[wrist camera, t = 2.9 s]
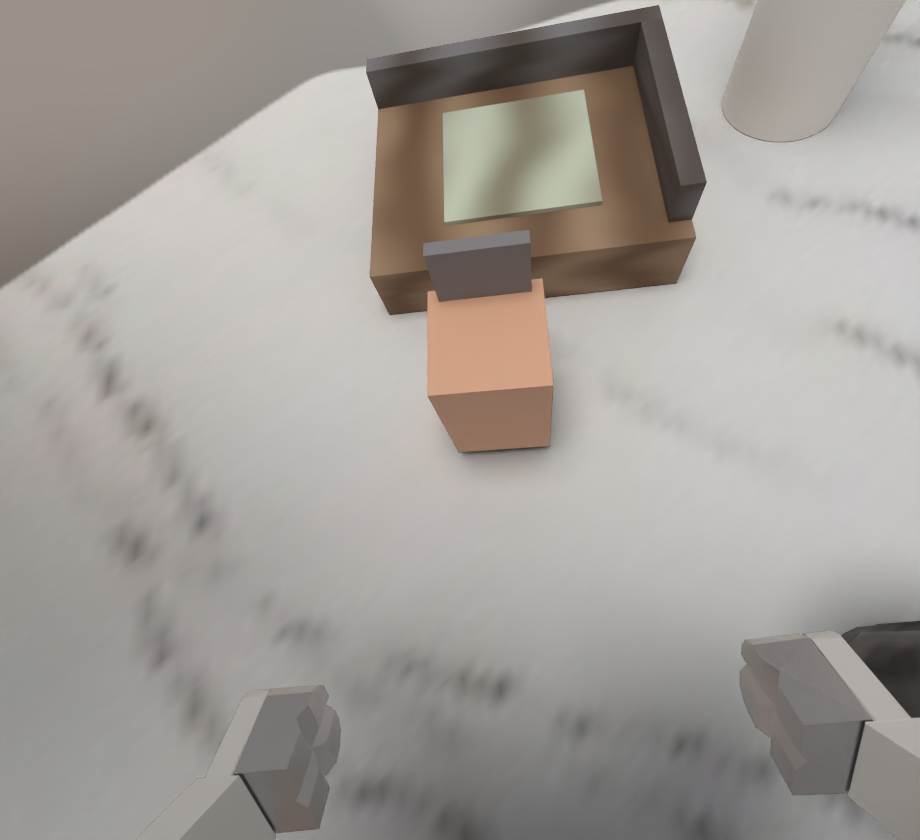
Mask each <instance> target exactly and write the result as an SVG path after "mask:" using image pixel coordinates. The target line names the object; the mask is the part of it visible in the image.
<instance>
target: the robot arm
mask: <svg viewBox="0 0 920 840" xmlns="http://www.w3.org/2000/svg"><path fill="white" fill-rule="evenodd" d="M741 655H742V657H743V658H744V660H745V662H746V665H745V666H744V667H743V668H742V669H741V670H740V688H741V692H742V696H743V700H744V703H745V705H746V708H747V710H748V713H749V715H750V717H751V719H752V720H753V722H754V724H755V726H756V728H758V729H759V730H760V731H762V732H763V733H764V734H766V735H767V736H768V737H770V738H771V748H770V754H771V756H772V758H773V760H774V762H775V764H776V765H777V767H778V769H779V771H780V773H781V775H782V777H783V778H784V780H785V782H786V784H787V786H788V788H789V789H790V791H791V793H792V795H815V794H839V793H849V794H848V797H849V798H851V799H852V800H853V801H854V802H855V803H856V804H858V805H859V806H860V807H861V808H862V809H863V810H864V811H866V812H867V813H868V814H869V815H870V816H871V817H873V818H874V819H875V820H876V821H877V822H878V823H880V824H881V825H882V826H883V827H884V828H885V829H886V830H888V831H889V832H890V833H891V834H892V835H893V836H895V837H896V838H897V839H898V840H920V718H911V717H910V716H909V715H908V713H907V712H906V711H905V710H904V709H903V708H902V706H901V705H900V704H899V703H898V702H897V701H896V699H895V698H894V697H893V696H892V695H891V694H890V692H889V691H888V690H887V689H886V688H885V687H884V685H883V684H882V683H881V682H880V681H879V680H878V678H877V677H876V676H875V675H874V674H873V673H872V671H871V670H870V669H869V668H868V667H867V666H866V664H865V663H864V662H863V661H862V660H861V659H860V657H859V656H858V655H857V654H856V653H855V652H854V650H853V649H852V648H851V647H850V646H849V645H848V643H847V642H846V641H845V640H844V639H843V638H842V636H841V635H839V634H838V633H836V632H834V631H824V632H815V633H806V634H791V635H782V636H774V637H765V638H757V639H749V640H745V641H744V642H743V643H742V649H741ZM328 697H329V695H328V693H327V691H326V689H325V687H324V685H315V686H302V687H288V688H274V689H264V690H253V691H249V692H248V693H247V694H246V696H245V697H244V698H243V699H242V701H241V703H240V705H239V707H238V709H237V711H236V713H235V715H234V718H233V720H232V722H231V724H230V726H229V728H228V730H227V732H226V734H225V736H224V738H223V740H222V743H221V745H220V747H219V749H218V751H217V753H216V755H215V757H214V759H213V761H212V763H211V766H210V768H209V770H208V772H207V774H206V776H205V778H197V779H196V780H195V781H194V782H193V783H192V784H191V785H190V786H189V787H188V788H187V789H186V790H185V791H184V792H183V793H182V794H181V795H180V796H179V797H178V798H177V799H176V800H175V801H174V802H173V803H172V804H171V805H170V806H169V807H168V808H167V809H166V810H165V811H164V812H163V813H162V814H161V815H160V816H159V817H158V818H157V819H156V820H155V821H154V822H153V823H152V824H151V825H150V826H149V827H148V828H147V829H146V830H145V831H144V832H142V833H141V834H140V835H139V836H138V837H137V838H136V839H135V840H274V839H275V838H276V834H275V833H283V832H293V831H302V830H312V829H319V828H320V824H321V820H322V816H323V812H324V809H325V805H326V801H327V797H328V793H329V789H330V788H329V785H328V783H327V780H326V777H325V776H326V775H327V774H328V772H329V771H330V770H331V769H332V767H333V766H334V765H335V764H336V761H337V757H338V753H339V748H340V734H341V729H340V723H339V718H338V715H337V713H336V711H335V710H334V709H332V708H331V707H329V706H328V705H326V704H327V701H328Z"/></svg>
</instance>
